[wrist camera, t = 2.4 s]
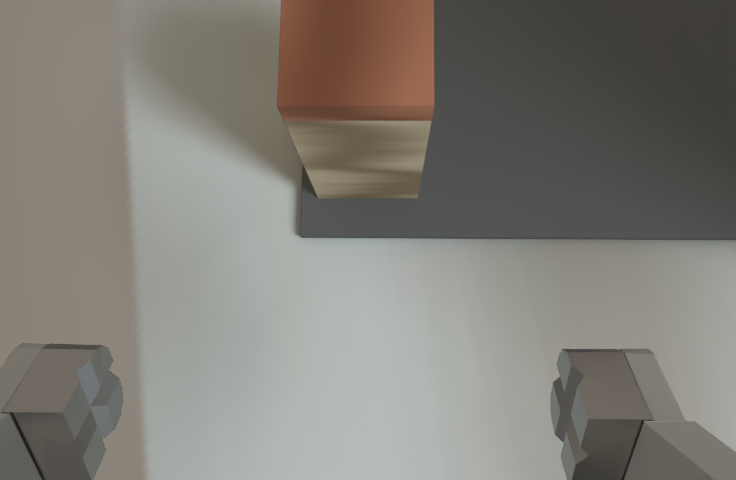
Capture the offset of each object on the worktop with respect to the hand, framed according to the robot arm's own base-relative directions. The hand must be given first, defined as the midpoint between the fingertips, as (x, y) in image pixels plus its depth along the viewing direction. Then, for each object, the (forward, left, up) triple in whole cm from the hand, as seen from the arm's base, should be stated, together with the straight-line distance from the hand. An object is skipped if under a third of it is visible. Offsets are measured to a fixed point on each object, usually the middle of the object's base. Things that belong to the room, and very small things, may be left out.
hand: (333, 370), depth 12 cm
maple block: (0, -10, -16) cm, 19 cm away
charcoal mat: (-8, -17, -17) cm, 25 cm away
